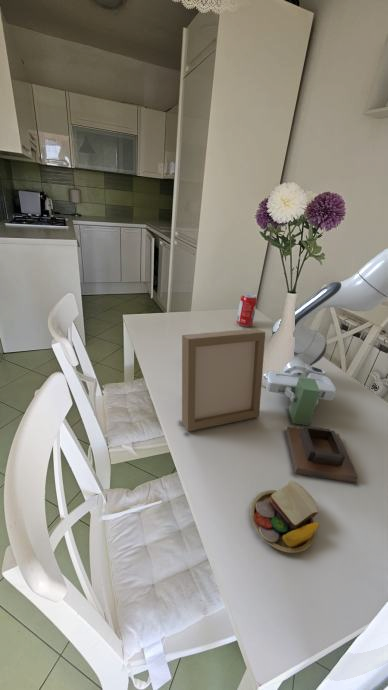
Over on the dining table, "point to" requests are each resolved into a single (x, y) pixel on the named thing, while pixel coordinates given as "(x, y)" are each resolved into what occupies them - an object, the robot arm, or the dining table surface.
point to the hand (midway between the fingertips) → (305, 401)
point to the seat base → (319, 453)
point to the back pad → (304, 401)
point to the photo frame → (221, 377)
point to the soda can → (247, 309)
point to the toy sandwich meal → (285, 517)
